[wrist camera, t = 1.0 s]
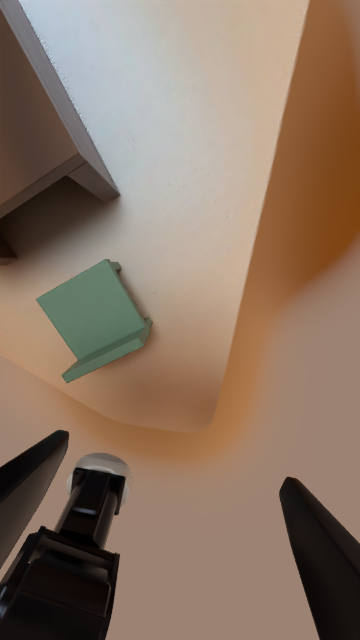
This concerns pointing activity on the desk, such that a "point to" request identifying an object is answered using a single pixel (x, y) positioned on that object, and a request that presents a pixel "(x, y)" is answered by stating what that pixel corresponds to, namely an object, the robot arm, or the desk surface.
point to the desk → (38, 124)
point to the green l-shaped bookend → (95, 318)
